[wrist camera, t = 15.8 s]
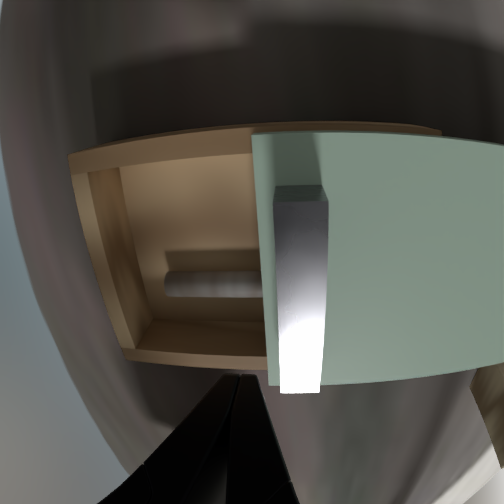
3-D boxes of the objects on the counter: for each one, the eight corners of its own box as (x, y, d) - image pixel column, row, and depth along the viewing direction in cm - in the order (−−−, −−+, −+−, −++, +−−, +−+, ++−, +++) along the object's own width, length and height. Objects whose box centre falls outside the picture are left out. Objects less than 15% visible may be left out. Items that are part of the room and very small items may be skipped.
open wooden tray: (389, 320, 19) (405, 363, 15) (148, 320, 21) (125, 359, 18) (408, 123, 14) (441, 130, 10) (109, 142, 16) (67, 154, 13)
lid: (521, 346, 14) (542, 377, 11) (270, 371, 16) (265, 416, 13) (571, 159, 9) (610, 175, 6) (254, 132, 11) (242, 141, 8)
